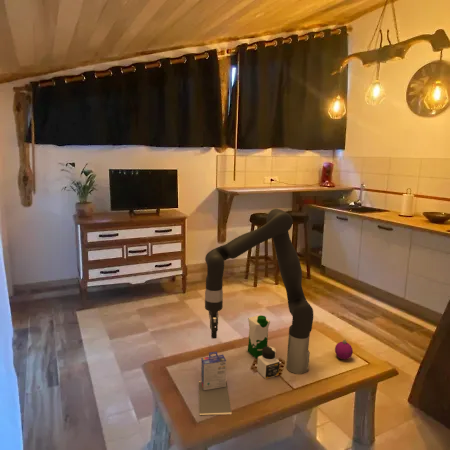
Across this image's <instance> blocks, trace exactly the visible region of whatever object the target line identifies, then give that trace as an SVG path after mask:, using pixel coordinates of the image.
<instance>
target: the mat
mask: <svg viewBox="0 0 450 450" xmlns="http://www.w3.org/2000/svg"><path fill="white" fill-rule="evenodd" d="M228 387H229V386H228V380H227V379H226V387H221V388H215V389H209V390H203V388H202V384H201V380H198V402H199V403H198V404H199V406H198V408H199V416H200V417H202V416H203V417H205V416H207V417H208V416H229V415H230V416H231V415H232V408H231V402H230V401H231V400H230V395H229V394H230V393H229V388H228Z"/></svg>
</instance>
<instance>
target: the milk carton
mask: <svg viewBox="0 0 450 450" xmlns="http://www.w3.org/2000/svg"><path fill="white" fill-rule="evenodd" d="M247 320H248V328H249V329H248V345H247V352H248V354H250V355H251V356H252V357H253V358H255V359H258V357H259V356H262V349H263V348H264V347H266V346H268V340H269V339H268V338H269V327H270V323H271V320H269V319H268V318H267V316H265V315H261V314H258V315H255V316H254V315H253V316H251V317H248V319H247Z"/></svg>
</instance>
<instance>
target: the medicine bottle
mask: <svg viewBox="0 0 450 450" xmlns="http://www.w3.org/2000/svg"><path fill="white" fill-rule="evenodd" d="M276 356H277V349H276V348H275V347H273V346H268V345H267V346H266V347H264V348H263V349H262V356H259V357H258V358H257V366H256V367H257V369H256V371H257V372H258V374H260V375H261V376H262V377H263V378H264V379H265V380H267V379H270V378H273V377H276V376H279V373H280V360H279V359H278V358H277V357H276Z"/></svg>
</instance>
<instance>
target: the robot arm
mask: <svg viewBox="0 0 450 450" xmlns="http://www.w3.org/2000/svg"><path fill="white" fill-rule="evenodd" d="M293 224H294V220H293V217H292V216H291V215H290V213H288V212H286V211H284V210H282V209H280V208H279V209H278V208H274V209H271V210H270V211H269V212H268V213H267V216H266V223H265V224H263V225H262V226H260V227H258V228H256V229H254V230H251V231H248V232H246V233H243V234H241V235H239V236H237V237H235V238H233V239H232V240H230V241H228V242H227V243H225V244H222V245H220V246H217V247H215V248H213V249H211V250H210V251H208V252H207V254H206V255H205V258H204V260H205V263H206V266H207V267H206V269H207V275H206V277H205V290H204V291H205V292H204V308H205V310H206V311H208V319H209V329H210V330H211V331H210V332H211V334H210V335H211V336H210V337H211V339H212V340H213V339H217V338H218V337H217V336H218V334H217V333H218V332H219V331H218V330H219V329H218V326H219V316H220V315H219V312H220V311H221V310H222V309H223V303H224V302H223V301H224V300H223V299H224V291H223V287H224V285H223V281H224V280H223V277H224V271H225V261H227V260H228V259H236V258H238V257H239V256H241V255H243V254H245V253H246V252H248V251H249V250H251V249H253V248H255V247H256V246H259V245H260V244H262V243H264V242H266V241H269V240H271V239H272V241H273V244H274V245H273V246H274V250H275V255H276V260H277V264H278V265H277V266H278V269H279V274H280V276H281V280H282V282H283V286H284V288H285V291H286V297H287V298H286V299H287V305H288V311H289V313H290V315H291V316H292V321H291V325H289V328H288V340H287V354H286V355H287V356H286V365H285V366H286V369H287V370H288V372H290V373H293V374H296V375H297V374H298V375H300V374H304V373H306V372H309V364H310V354H311V353H310V351H309V348H310V336H311V332H312V329H313V322H314V309H313V307H312V306H311V304H310V303H309V302H308V300H307V299H306V296H305V294H304V289H303V285H302V283H303V281H302V280H303V270H302V266H301V261H300V257H299V255H298V252H297V250H296V248H295V246H294V245H293V243H292V240H291V238H290V233H289V231H290V230H291V229H292V227H293Z"/></svg>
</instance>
